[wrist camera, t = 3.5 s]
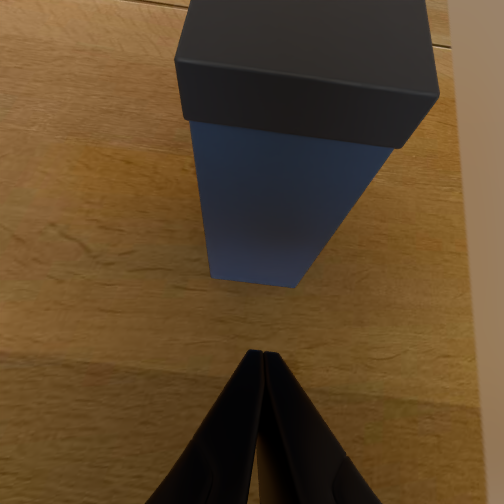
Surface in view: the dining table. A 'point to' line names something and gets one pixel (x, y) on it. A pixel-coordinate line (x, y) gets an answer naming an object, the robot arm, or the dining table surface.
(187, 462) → the robot arm
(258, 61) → the blue capped box
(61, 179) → the dining table surface
